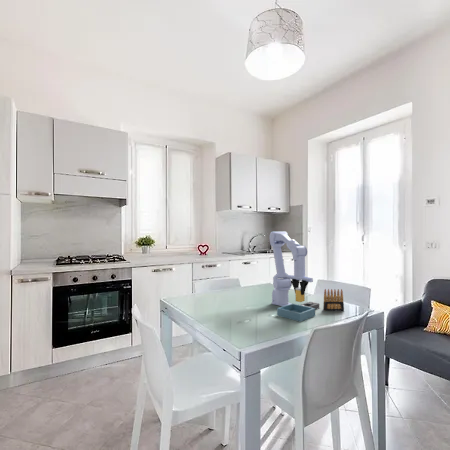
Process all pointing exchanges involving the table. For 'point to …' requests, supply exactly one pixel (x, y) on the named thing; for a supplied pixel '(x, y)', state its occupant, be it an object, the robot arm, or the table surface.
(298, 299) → the block
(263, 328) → the table surface
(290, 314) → the parts tray
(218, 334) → the table surface
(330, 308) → the ammunition clip
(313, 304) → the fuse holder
